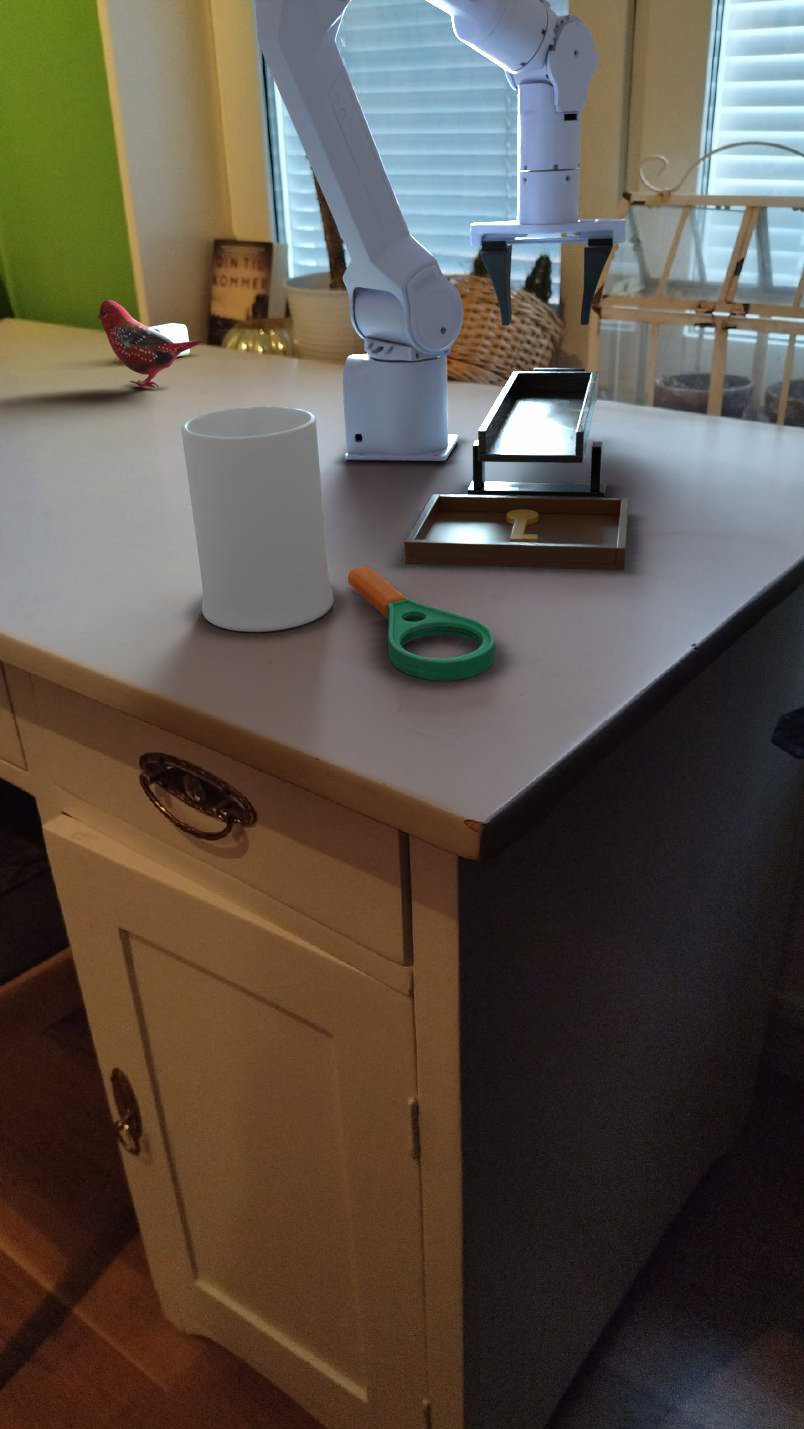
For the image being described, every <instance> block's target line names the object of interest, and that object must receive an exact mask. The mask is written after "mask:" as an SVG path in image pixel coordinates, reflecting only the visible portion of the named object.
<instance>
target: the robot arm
mask: <svg viewBox="0 0 804 1429" xmlns="http://www.w3.org/2000/svg"><path fill="white" fill-rule="evenodd" d="M351 1H352V0H254V2H255V19H256V33H257V40H258V45H259V48H260V50H261V53H262V55H263V58H264V60H265V63H266V64H267V67H268V69H269V71H270V74H271V77H272V78H273V81H274V83H275V85H276V88H277V90H278V92H279V95H280V98H281V100H282V102H283V104H284V106H285V109H286V112H287V114H288V116H289V118H290V121H291V122H292V125H293V128H294V129H295V132H296V134H297V136H298V139H299V142H300V144H301V146H302V148H303V151H304V153H305V155H306V158H307V160H308V162H309V164H310V167H311V169H312V172H313V173H314V177H315V179H316V181H317V183H318V186H319V187H320V190H321V192H322V194H323V197H324V199H325V201H326V204H327V206H328V208H329V211H330V213H331V215H332V218H333V220H334V222H335V225H336V227H337V230H338V231H339V234H340V236H341V239H342V241H343V244H344V245H345V246H344V247H345V248H346V250H347V253H348V255H349V258H350V261H349V264H348V265H347V267H346V269H345V271H344V273H343V275H342V281H343V284H344V286H345V288H346V291H347V294H348V300H349V305H348V306H349V317H350V318H349V319H350V322H351V325H352V328H353V329H354V330H355V332H356V334H357V335H358V336H359V337H360V338H361V339H363V346H364V347H363V348H364V352H366V354H365V353H363V354H351V355H349V356H347V358H346V360H345V362H344V366H343V372H342V401H343V416H344V431H345V432H344V433H345V447H346V448H345V449H346V453H345V454H344V458H345V460H348V461H349V460H350V461H416V462H421V461H422V462H443V461H446V460H447V459H448V457H449V455H450V454H451V452H452V451H453V449H454V448H455V446H456V444H457V442H458V441H459V435H458V434H449V397H448V396H449V394H448V356H449V355H451V354H452V346H453V345H454V343H455V342H456V340H457V339H458V337H459V335H460V334H461V330H462V327H463V323H464V316H465V314H464V313H465V312H464V304H463V299H462V297H461V294H460V292H459V290H458V288H457V287H456V286H455V284H453V283H452V282H451V281H449V280H448V279H447V278H446V277H445V275H444V274H443V272H442V270H441V267H440V265H439V263H438V260H437V258H436V256H434V255H433V254H432V253H431V252H430V251H429V250H428V249H427V248H426V247H424V246H423V245H422V244H421V243H420V242H419V241H418V240H416V239H415V237H413V236H412V234H411V232H410V230H409V227H408V225H407V222H406V219H405V217H404V214H403V212H402V209H401V207H400V204H399V202H398V201H399V200H398V198H397V196H396V194H395V191H394V188H393V186H392V183H391V180H390V178H389V176H388V173H387V170H386V168H385V165H384V163H383V161H382V157H381V155H380V151H379V149H378V148H377V147H378V146H377V145H376V142H375V139H374V137H373V134H372V132H371V129H370V127H369V123H368V121H367V119H366V116H365V114H364V111H363V108H362V105H361V103H360V100H359V98H358V96H357V93H356V90H355V87H354V86H353V83H352V80H351V77H350V74H349V72H348V70H347V67H346V65H345V62H344V60H343V57H342V55H341V52H340V49H339V47H338V44H337V35H338V32H339V29H340V26H341V23H342V20H343V17H344V14H345V11H346V9H347V7H348V6H349V4H350V3H351ZM426 1H427V2H428V3H430V4H432V5H433V6H435V7H437V8H439V9H440V10H442V11H444V12H445V13H447V14H449V15H450V16H451V22H452V28H453V32H454V34H455V36H456V37H457V38H458V40H460V41H461V42H463V43H465V45H467V46H469V47H471V48H472V49H473V50H475V51H476V52H478V53H480V54H481V55H482V56H484V57H486V58H487V59H489V60H490V61H492V62H493V63H495V64H497V65H498V66H499V67H501V68H502V69H503V71H504V74H505V78H506V79H507V80H506V81H507V82H508V84H509V86H510V87H511V88H512V89H513V91H515V92H516V91H518V92H517V93H518V94H517V194H516V195H517V196H516V197H517V204H516V205H517V206H516V210H517V211H516V212H517V213H516V214H517V215H516V220H508V221H506V220H505V221H489V222H488V221H487V222H473V223H470V225H469V239H470V240H469V243H470V244H469V245H470V247H481V251H480V253H479V255H480V257H481V258H480V259H481V261H482V263H483V266H484V267H485V269H486V272H487V274H488V277H489V279H490V282H491V284H492V286H493V290H494V293H495V297H496V299H497V303H498V309H499V312H500V319H501V320H500V321H501V326H504V327H505V326H507V327H508V326H510V325H511V323H512V316H513V308H512V293H511V280H512V279H511V278H512V276H511V275H512V255H513V254H512V253H513V245H548V244H549V245H552V244H586V245H585V246H584V247H583V290H582V291H583V292H582V301H581V309H580V326H588V325H589V324H590V317H591V310H592V307H593V306H592V305H593V301H594V297H595V295H596V291H597V287H598V285H599V281H600V279H601V276H602V273H603V272H604V268H605V266H606V263H607V261H608V259H609V257H610V254H611V253H612V250H613V248H614V244H624V243H625V241H626V228H627V227H626V226H627V219H626V218H579V206H580V205H579V203H580V202H579V201H580V173H581V172H580V171H581V145H582V144H581V142H582V140H581V139H582V114H583V113H582V112H583V111H584V110H585V105H587V103H588V90H589V85H590V84H591V81H592V79H593V77H594V76H595V74H596V71H597V67H598V64H599V54H600V53H599V52H600V51H599V50H596V45H595V39H594V36H593V33H592V31H591V30H590V28H589V26H588V25H586V23H585V22H584V21H583V20H582V19H581V18H579V17H578V16H577V15H573V14H568V15H559V16H558V15H557V14H556V12H555V11H554V10H553V9H552V8H551V3H550V2H549V1H548V0H426ZM551 234H552V235H553V234H566V236H556V237H555V236H553V237H552V236H551V237H550V236H549V237H528V236H529V235H551Z"/></svg>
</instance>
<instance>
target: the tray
mask: <svg viewBox="0 0 804 1429" xmlns="http://www.w3.org/2000/svg"><path fill="white" fill-rule="evenodd" d="M629 508H630V498H629V497H577V496H528V495H479V494H444V493H440V494H438V493H433V494H431V496H430V498H429V500H428V501H427V503H426V504H425V506H424V508H423V510H422V512H421V513H420V515H419V517H418V518H417V520H416V521H415V523H414V526H413V527H412V529H411V530H410V532H409V534H408V536H407V537H406V539H404V540H405V541H404V557H405V558H404V560H405V561H404V563H405V564H415V565H416V564H417V565H418V564H421V565H448V566H449V565H450V566H476V567H477V566H478V567H481V566H483V567H508V568H511V567H512V568H538V569H541V568H542V569H568V570H569V569H572V570H598V571H599V570H600V571H601V570H602V571H625V567H626V552H627V541H628V540H627V538H628V525H629V523H628V522H629ZM520 509H526V510H532V511H535V512H537V513H538V521H537V522H536V523H534V524H530V525H527V527H526V532H525V534H538V543H519V542H510V537H511V533H512V529H513V526H514V524H510V523H508V522H507V513H508V512H510V511H513V510H520Z"/></svg>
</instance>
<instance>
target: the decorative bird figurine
mask: <svg viewBox="0 0 804 1429" xmlns="http://www.w3.org/2000/svg"><path fill="white" fill-rule="evenodd" d="M97 319H99V320H100V322H101V325H102V328H103V331H104V332H105V335H106V337H107V341H108V343H109V345H110V348H111V349H112V351H113V353H114V355H115V356H116V357H117V358H118V361H120V362H121V363H122V364H123V365H124V366H125V367H127V368H128V369H129V370H131V371H132V372H135V373H137V374H139V375H145V376H146V375H147V377H146V378H144V380H141V379H139V380H137V381H135V380H130V381H129V383H132V384H135V385H137V386H138V387H141V388H144V387H149V388H155V386H156V387H158V388H159V387H160V386H159V385H158V384H157V382H155V381H152V380H153V379H154V378H156V377H157V374H159V373H160V372H161V371H162V370H164V369H168V368H169V367H171V366H172V365H173V364H174V362H175V361H176V359H177V358H178V357H179V356H178V355H179V354H180V353H181V352H183V351H186V350H188V349H190V350H191V349H192V348H194V347H197V346H199V345H200V344H202V343H203V341H202V340H200V339H198V340H189V341H188V342H180V343H173V342H172V341H171V340H170V339H168V338H167V337H165V336H164V335H162V334H161V333H159V332H158V331H156V330H154V329H152V328H150V327H151V326H148V325H145V324H143V323H141V322H140V321H138V320H136V319H135V318H134V317H132V315H131V314H130V313H129V312H128V311H127V310H126V309H125V307H123V305H120V304H119V303H118V302H116V301H114V300H111V299H105V300H104V301H102V302H101V305H100V307H99V314H98V315H97ZM177 356H178V357H177Z"/></svg>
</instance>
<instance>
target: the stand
mask: <svg viewBox="0 0 804 1429" xmlns="http://www.w3.org/2000/svg"><path fill="white" fill-rule="evenodd" d="M602 463H603V442H602V441H592V444H591V456H590V477H589V478H590V479H589V483H578V482H577V483H572V482H569V483H568V482H521V481H519V482H518V481H516V482H515V481H486V462H479V461H478V440H474V442H473V445H472V481H471V483H470V484H469V486H468V488H467V495H496V496H545V497H594V498H605V495H606V487H607V484H606V483H602V466H603V464H602Z"/></svg>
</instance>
